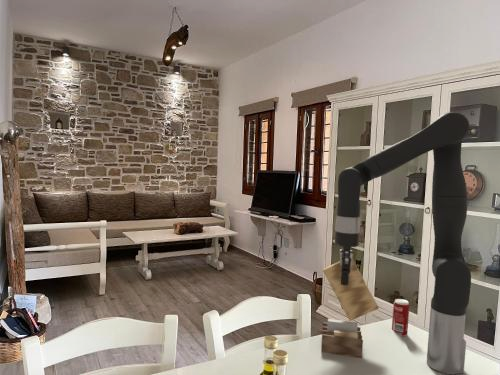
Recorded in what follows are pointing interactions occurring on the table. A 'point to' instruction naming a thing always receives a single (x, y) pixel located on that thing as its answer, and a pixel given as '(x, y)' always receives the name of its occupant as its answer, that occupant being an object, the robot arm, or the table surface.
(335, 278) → the tall sheet
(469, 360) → the table surface
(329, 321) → the offcut grey
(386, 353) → the table surface
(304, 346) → the table surface
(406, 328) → the soda can
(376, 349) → the table surface
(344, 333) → the offcut pine
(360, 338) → the rack
